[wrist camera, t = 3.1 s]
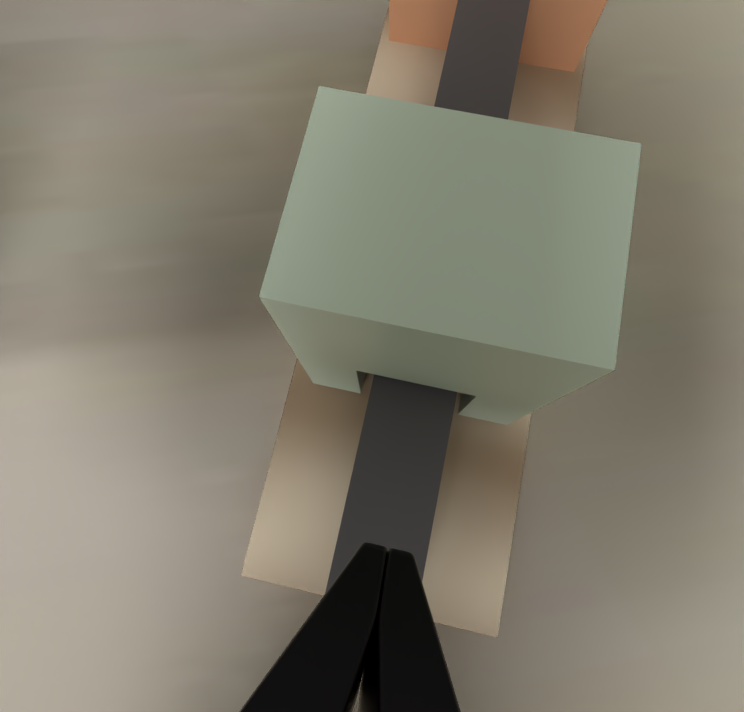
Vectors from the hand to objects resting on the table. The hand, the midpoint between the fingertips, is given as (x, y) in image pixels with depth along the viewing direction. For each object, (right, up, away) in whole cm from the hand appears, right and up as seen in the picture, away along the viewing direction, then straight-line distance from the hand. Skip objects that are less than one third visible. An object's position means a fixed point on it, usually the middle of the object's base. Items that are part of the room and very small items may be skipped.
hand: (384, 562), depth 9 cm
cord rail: (+2, +6, +8) cm, 10 cm away
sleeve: (+1, +4, +7) cm, 8 cm away
